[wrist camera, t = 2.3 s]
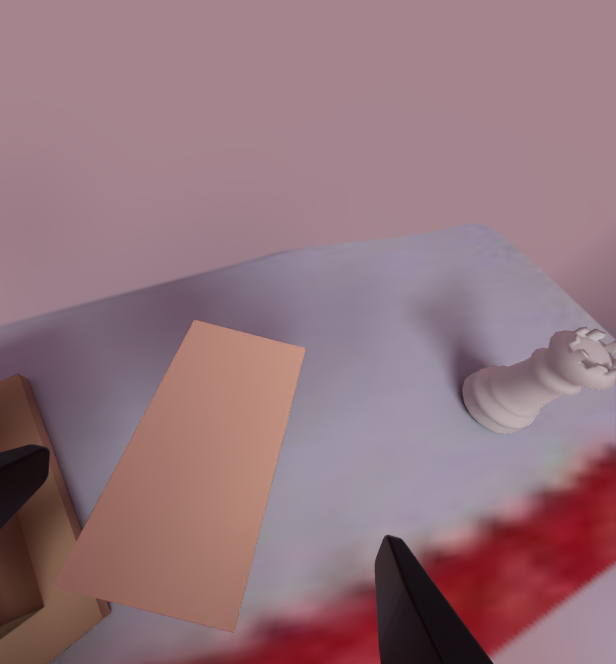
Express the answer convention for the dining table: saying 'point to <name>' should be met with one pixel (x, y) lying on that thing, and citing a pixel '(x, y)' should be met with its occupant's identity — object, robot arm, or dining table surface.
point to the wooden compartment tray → (38, 550)
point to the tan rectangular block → (192, 483)
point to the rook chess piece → (539, 380)
